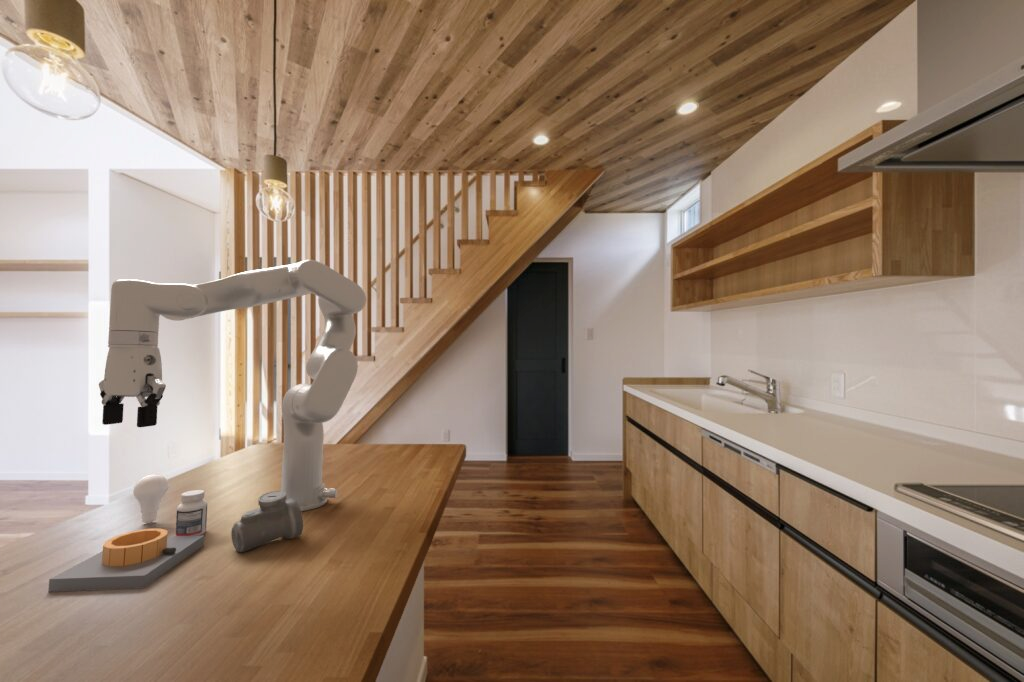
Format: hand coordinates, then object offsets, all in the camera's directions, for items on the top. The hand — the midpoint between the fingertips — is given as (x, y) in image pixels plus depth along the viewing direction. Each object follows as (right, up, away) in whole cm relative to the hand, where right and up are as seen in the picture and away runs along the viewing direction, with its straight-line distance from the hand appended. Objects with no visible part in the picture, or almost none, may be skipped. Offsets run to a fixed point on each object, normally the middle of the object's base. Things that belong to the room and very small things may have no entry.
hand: (129, 424), depth 84 cm
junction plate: (+9, -24, -9) cm, 27 cm away
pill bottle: (+8, -25, +5) cm, 27 cm away
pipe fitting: (+27, -25, +2) cm, 37 cm away
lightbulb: (-5, -25, +11) cm, 28 cm away
